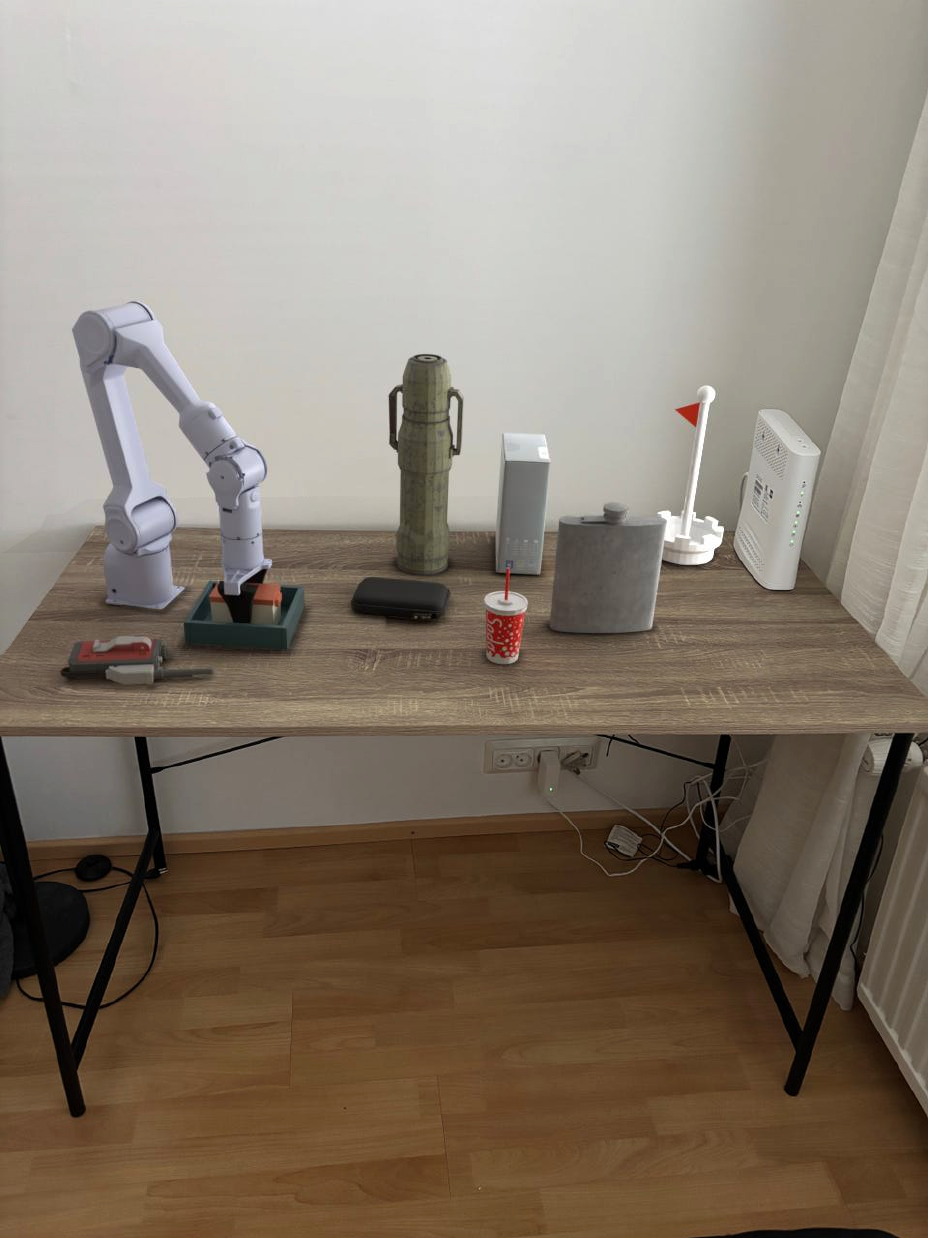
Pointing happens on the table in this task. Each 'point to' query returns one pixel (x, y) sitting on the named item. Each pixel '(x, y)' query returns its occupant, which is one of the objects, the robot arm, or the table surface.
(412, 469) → the thermos
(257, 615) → the lunchbox
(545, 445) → the hard drive box
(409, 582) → the carrying case
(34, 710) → the table surface
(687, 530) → the flag stand
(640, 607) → the hip flask
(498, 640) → the beverage cup
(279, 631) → the tray
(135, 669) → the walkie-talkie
